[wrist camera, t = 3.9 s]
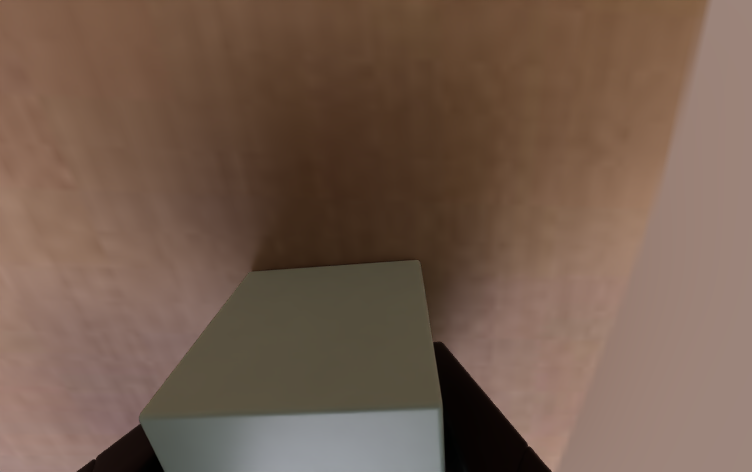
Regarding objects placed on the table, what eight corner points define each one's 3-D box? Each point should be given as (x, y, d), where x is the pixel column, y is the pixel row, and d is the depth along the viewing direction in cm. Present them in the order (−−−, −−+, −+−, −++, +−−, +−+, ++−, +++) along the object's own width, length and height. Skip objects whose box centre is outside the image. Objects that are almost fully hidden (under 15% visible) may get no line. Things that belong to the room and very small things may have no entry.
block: (420, 258, 9) (442, 405, 5) (428, 391, 11) (450, 583, 7) (248, 270, 9) (133, 417, 5) (282, 397, 11) (217, 583, 7)
